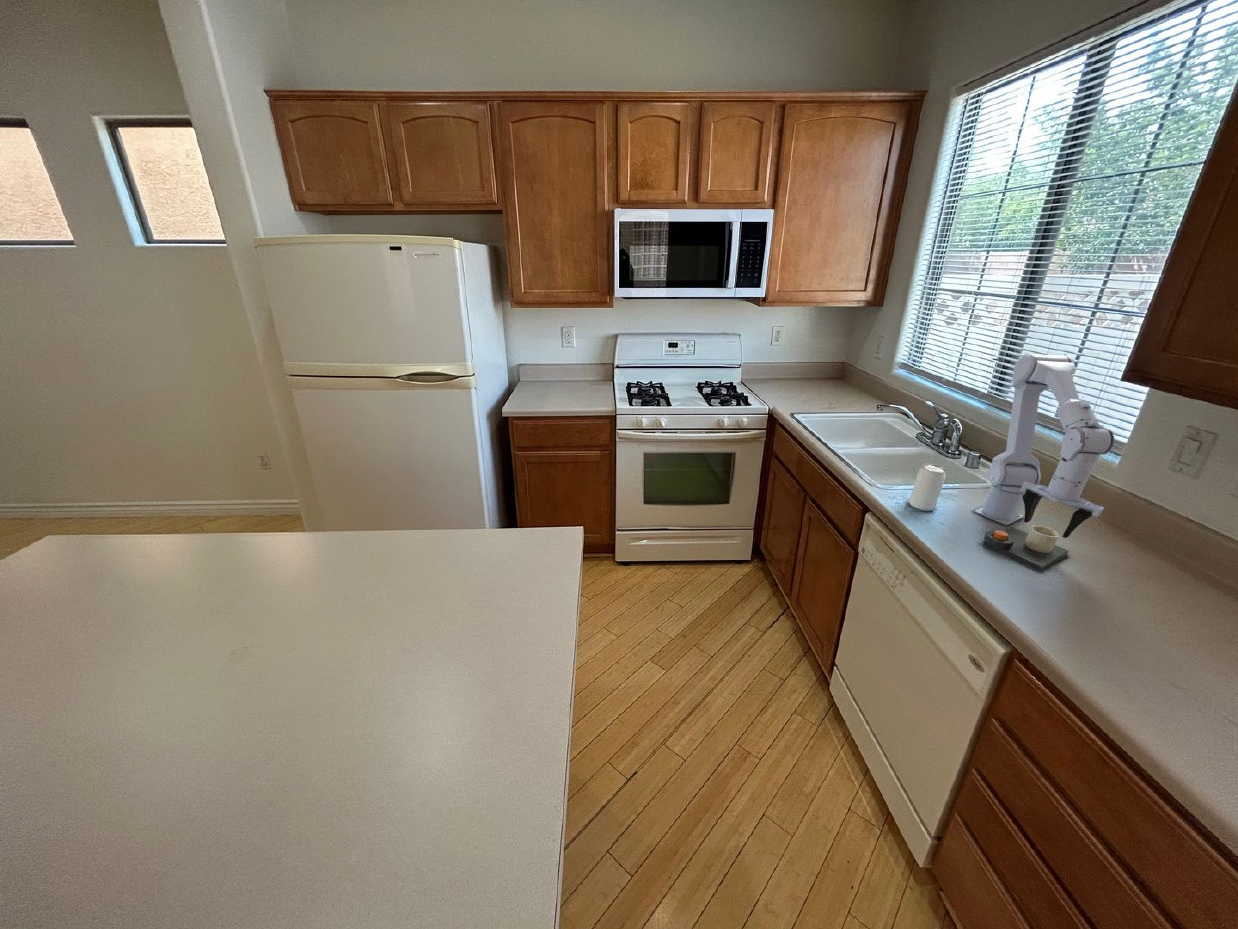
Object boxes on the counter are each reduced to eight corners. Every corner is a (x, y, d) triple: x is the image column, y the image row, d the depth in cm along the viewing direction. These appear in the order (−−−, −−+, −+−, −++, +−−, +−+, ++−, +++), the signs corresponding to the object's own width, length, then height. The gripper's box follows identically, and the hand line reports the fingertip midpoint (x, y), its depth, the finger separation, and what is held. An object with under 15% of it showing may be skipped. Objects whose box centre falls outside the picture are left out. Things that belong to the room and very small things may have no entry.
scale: (1007, 530, 125) (1011, 520, 124) (1066, 555, 115) (1071, 545, 114) (977, 544, 118) (981, 534, 117) (1037, 572, 108) (1043, 561, 107)
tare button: (996, 534, 118) (998, 529, 117) (1007, 539, 116) (1010, 534, 115) (990, 536, 117) (993, 531, 116) (1002, 542, 115) (1005, 536, 114)
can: (927, 501, 138) (940, 464, 133) (938, 512, 133) (952, 473, 128) (904, 499, 139) (916, 462, 134) (914, 510, 133) (927, 472, 128)
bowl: (1024, 538, 119) (1031, 523, 117) (1051, 546, 116) (1058, 530, 114) (1023, 547, 115) (1030, 531, 113) (1051, 555, 112) (1059, 539, 110)
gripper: (1024, 469, 111) (1003, 518, 117) (1105, 495, 100) (1077, 548, 106) (1037, 463, 115) (1016, 512, 121) (1116, 487, 104) (1089, 540, 109)
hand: (1045, 528), depth 113 cm, fingers open, 7 cm apart
